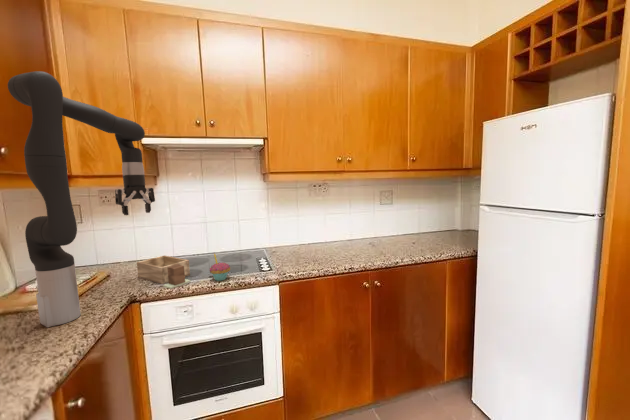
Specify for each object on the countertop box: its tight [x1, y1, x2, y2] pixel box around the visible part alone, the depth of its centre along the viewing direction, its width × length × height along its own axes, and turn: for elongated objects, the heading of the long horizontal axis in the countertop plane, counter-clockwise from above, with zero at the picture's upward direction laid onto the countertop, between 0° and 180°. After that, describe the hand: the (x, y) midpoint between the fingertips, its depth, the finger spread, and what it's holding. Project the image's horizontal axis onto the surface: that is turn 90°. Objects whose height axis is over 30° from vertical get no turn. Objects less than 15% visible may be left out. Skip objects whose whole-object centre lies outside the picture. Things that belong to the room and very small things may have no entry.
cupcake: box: [209, 252, 231, 282], centre depth 127 cm, size 9×8×12 cm
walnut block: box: [167, 264, 186, 285], centre depth 122 cm, size 4×4×7 cm
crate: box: [136, 255, 191, 285], centre depth 132 cm, size 13×19×7 cm
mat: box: [162, 278, 191, 289], centre depth 122 cm, size 9×5×1 cm, turn 149°
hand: (137, 213), depth 119 cm, fingers open, 8 cm apart
